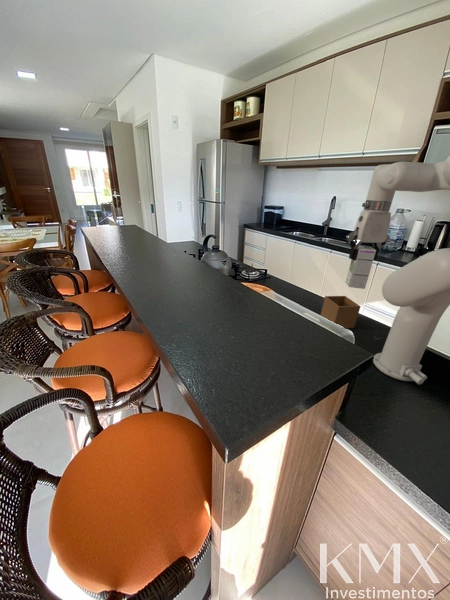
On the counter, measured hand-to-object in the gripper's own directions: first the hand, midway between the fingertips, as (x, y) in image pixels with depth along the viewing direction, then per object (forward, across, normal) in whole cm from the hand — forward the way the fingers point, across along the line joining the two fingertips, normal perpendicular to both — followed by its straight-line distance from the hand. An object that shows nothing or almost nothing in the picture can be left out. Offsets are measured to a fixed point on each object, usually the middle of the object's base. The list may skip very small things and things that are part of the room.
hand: (362, 259), depth 89 cm
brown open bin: (+28, -1, +3) cm, 28 cm away
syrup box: (+10, 0, 0) cm, 10 cm away
